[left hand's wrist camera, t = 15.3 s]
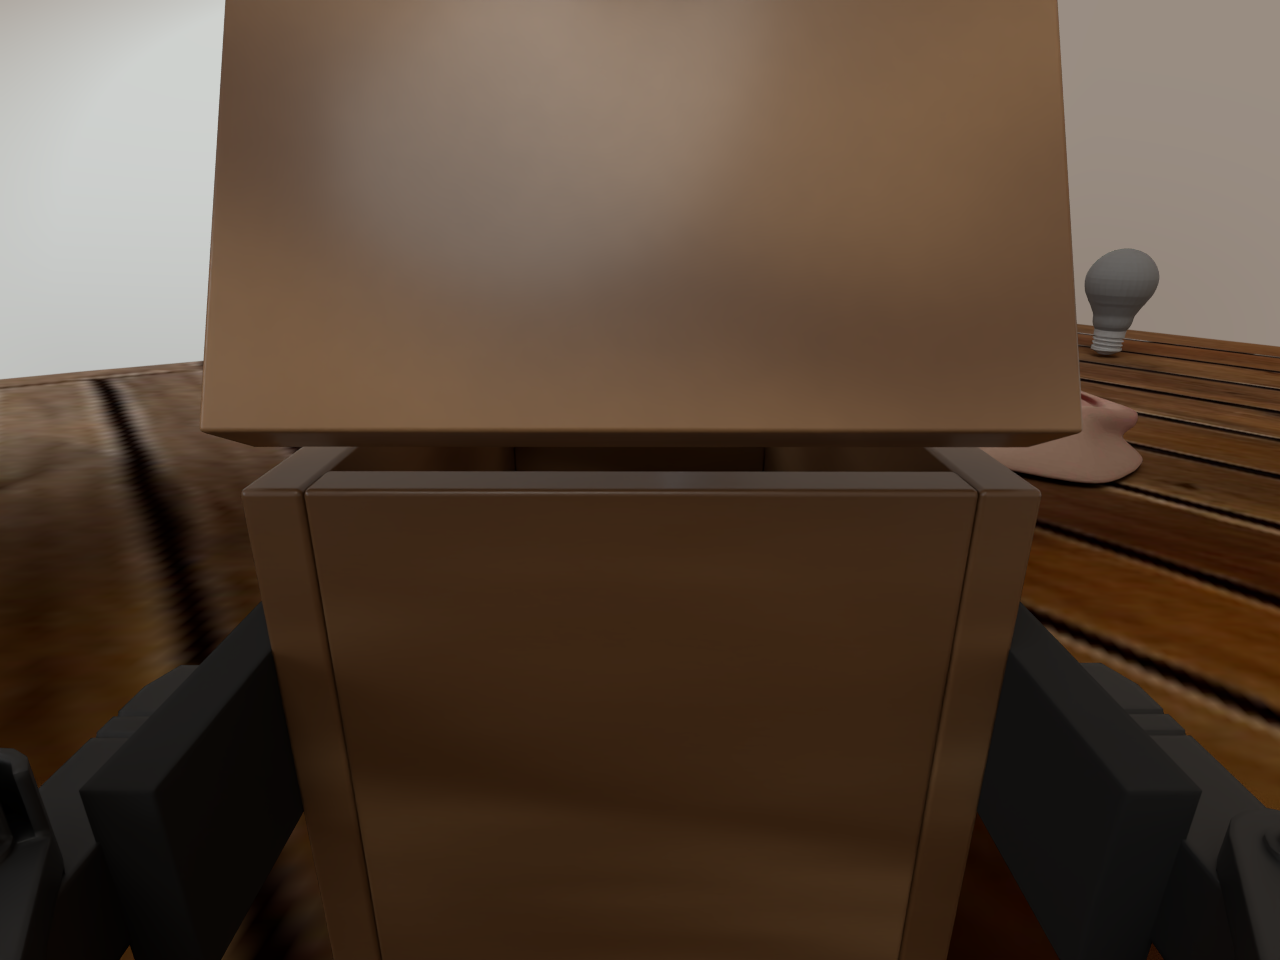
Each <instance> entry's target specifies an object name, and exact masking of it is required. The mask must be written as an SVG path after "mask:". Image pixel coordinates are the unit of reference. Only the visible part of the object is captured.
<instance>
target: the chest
mask: <svg viewBox="0 0 1280 960" xmlns="http://www.w3.org/2000/svg"><path fill="white" fill-rule="evenodd" d="M241 499H242V504H243V509H244V514H245V519H246V524H247V529H248V534H249V539H250V544H251V549H252V554H253V559H254V564H255V569H256V574H257V579H258V584H259V589H260V594H261V599H262V604H263V609H264V614H265V619H266V624H267V629H268V634H269V639H270V644H271V649H272V654H273V659H274V664H275V669H276V674H277V679H278V684H279V689H280V694H281V699H282V704H283V709H284V714H285V719H286V724H287V729H288V734H289V739H290V744H291V749H292V754H293V759H294V764H295V769H296V774H297V779H298V784H299V789H300V794H301V799H302V804H303V809H304V814H305V819H306V824H307V829H308V834H309V839H310V844H311V849H312V854H313V859H314V864H315V869H316V874H317V879H318V884H319V889H320V894H321V899H322V904H323V909H324V914H325V919H326V924H327V929H328V934H329V939H330V944H331V949H332V954H333V959H334V960H947V955H948V950H949V946H950V941H951V936H952V931H953V926H954V921H955V916H956V911H957V906H958V902H959V897H960V892H961V887H962V882H963V877H964V872H965V867H966V862H967V858H968V853H969V848H970V843H971V838H972V833H973V828H974V823H975V818H976V814H977V807H978V802H979V797H980V792H981V787H982V782H983V778H984V773H985V768H986V763H987V758H988V753H989V748H990V743H991V738H992V733H993V728H994V723H995V718H996V713H997V708H998V704H999V699H1000V694H1001V689H1002V684H1003V679H1004V674H1005V669H1006V664H1007V659H1008V654H1009V650H1010V647H1011V642H1012V637H1013V633H1014V628H1015V623H1016V618H1017V613H1018V608H1019V603H1020V598H1021V593H1022V589H1023V584H1024V579H1025V574H1026V569H1027V564H1028V559H1029V554H1030V549H1031V545H1032V540H1033V535H1034V530H1035V525H1036V520H1037V515H1038V510H1039V505H1040V500H1041V492H1040V490H1038V489H1037V488H1035V487H1034V486H1033V485H1031V484H1030V483H1028V482H1027V481H1026V480H1024V479H1023V478H1021V477H1020V476H1018V475H1017V474H1016V473H1014V472H1013V471H1011V470H1010V469H1008V468H1007V467H1006V466H1004V465H1003V464H1001V463H1000V462H999V461H997V460H996V459H994V458H993V457H991V456H990V455H989V454H987V453H986V452H984V451H983V450H981V449H980V448H979V447H302V448H301V449H299V450H298V451H297V452H295V453H294V454H292V455H291V456H289V457H288V458H287V459H285V460H284V461H282V462H281V463H280V464H278V465H277V466H275V467H274V468H273V469H271V470H270V471H268V472H267V473H266V474H264V475H263V476H261V477H260V478H259V479H257V480H256V481H254V482H253V483H251V484H250V485H249V486H247V487H246V488H244V489H243V490H242V493H241Z"/></svg>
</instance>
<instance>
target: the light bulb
mask: <svg viewBox="0 0 1280 960" xmlns="http://www.w3.org/2000/svg"><path fill="white" fill-rule="evenodd" d="M1158 282H1159V271H1158V268H1157V266H1156V264H1155V262H1154V261H1153V260H1152V258H1151V257H1150V256H1148V255H1147V254H1146V253H1144V252H1141V251H1139V250H1135V249H1120V250H1115V251H1112V252H1109V253H1107V254H1105V255H1104V256H1102V257H1101V258H1100V259H1098V260H1097V261H1096V262H1095V263H1094V264H1093V265H1092V267H1091V268H1090V269H1089V271H1088V273H1087V275H1086V279H1085V292H1086V295H1087V298H1088V301H1089V303H1090V305H1091V308H1092V311H1093V325H1094V328H1095V329H1094V335H1095V336H1093V338H1094V339H1095V340H1093V341H1092V342H1093V343H1094V344H1092V345H1091V349H1093V350H1095V351H1096V352H1097V353H1099V354H1104V355H1112V354H1114V353H1117V352H1119V351H1121V350H1122V348H1120V346H1123V345H1121V342H1124V341H1122V338H1124V337H1125V333H1126V330H1127V329H1128V328H1129V327H1130V326H1131V324H1132V322H1133V319H1134V316H1135V315H1136V314H1137V312H1138V311H1139V310H1140V309H1141V308H1142V307H1143V305H1145V303H1146V302H1147V301H1148V300H1149V299H1150V298H1151V297H1152V295H1153V294H1154V292H1155V290H1156V288H1157V286H1158Z"/></svg>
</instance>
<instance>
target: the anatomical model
mask: <svg viewBox="0 0 1280 960" xmlns="http://www.w3.org/2000/svg"><path fill="white" fill-rule="evenodd" d="M1081 405H1082V421H1083V429H1082V432H1080V433H1078V434H1075V435H1071V436H1068V437H1064V438H1060V439H1057V440H1053V441H1049V442H1046V443H1042V444H1038V445H1035V446H1031V447H979V448H980V449H981V450H983V451H984V452H986V453H987V454H989V455H990V456H991V457H993V458H994V459H996V460H997V461H999V462H1000V463H1001V464H1003V465H1004V466H1006V467H1007V468H1008V469H1010V470H1011V471H1016V472H1021V473H1025V474H1030V475H1036V476H1041V477H1046V478H1052V479H1058V480H1064V481H1070V482H1079V483H1094V484H1095V483H1107V482H1111V481H1114V480H1117V479H1120V478H1122V477H1124V476H1126V475H1128V474H1130V473H1132V472H1134V471H1135V470H1136V469H1137V468H1138V467H1139V466H1140V464H1141V463H1142V457H1141V455H1140V454H1139V453H1138V452H1137V451H1136V450H1135V449H1134V448H1133V447H1132V446H1130V445H1129V444H1128V443H1127V442H1126V441H1125V440H1124V438H1123V434H1124V433H1125V432H1126V431H1128V430H1129V429H1130V428H1132V427H1133V426H1134V425H1135V424H1136V422H1137V419H1138V415H1137V412H1136V411H1134V410H1132V409H1130V408H1128V407H1126V406H1123V405H1120V404H1117V403H1114V402H1111V401H1108V400H1105V399H1102V398H1099V397H1097V396H1094V395H1091V394H1088V393H1086V392H1083V391H1081Z"/></svg>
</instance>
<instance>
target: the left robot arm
mask: <svg viewBox="0 0 1280 960" xmlns="http://www.w3.org/2000/svg"><path fill="white" fill-rule="evenodd" d="M303 812H304V809H303V804H302V799H301V794H300V789H299V784H298V779H297V774H296V769H295V764H294V759H293V754H292V749H291V744H290V739H289V734H288V729H287V724H286V719H285V714H284V709H283V704H282V699H281V694H280V689H279V684H278V679H277V674H276V669H275V664H274V659H273V654H272V649H271V644H270V639H269V634H268V629H267V624H266V619H265V614H264V609H263V604H262V601H261V602H260V603H259V604H258V605H257V606H256V607H255V608H254V609H253V610H252V611H251V612H250V613H249V614H248V615H247V616H246V618H245V619H244V620H243V621H242V622H241V623H240V624H239V625H238V626H237V627H236V628H235V629H234V630H233V631H232V632H231V633H230V634H229V635H228V636H227V637H226V638H225V639H224V640H223V641H222V642H221V643H220V644H219V646H218V647H217V648H216V649H215V650H214V651H213V652H212V653H211V654H210V655H209V656H208V657H207V658H206V659H205V660H204V661H203V662H202V663H201V664H200V665H180V666H179V667H177V668H175V669H173V670H172V671H170V672H168V673H167V674H165V675H163V676H162V677H160V678H158V679H157V680H155V681H153V682H151V683H150V684H148V685H146V686H145V687H144V688H143V689H141V690H140V691H139V692H138V693H137V694H136V695H135V696H134V697H133V698H132V699H131V700H130V701H129V702H128V703H127V704H126V705H125V706H124V707H123V708H122V709H121V710H120V711H119V714H118V716H117V717H112V718H111V719H110V720H109V721H108V722H107V723H106V724H105V725H104V726H103V727H102V728H101V729H100V730H99V731H98V732H97V736H96V738H91V739H90V740H89V741H88V742H87V743H85V744H84V745H83V746H82V747H81V748H80V749H79V750H78V751H77V752H76V753H75V754H74V755H73V756H72V757H71V758H70V759H69V760H68V761H67V762H66V763H65V764H64V765H63V766H62V767H61V768H60V769H59V770H57V771H56V772H55V773H54V774H53V775H52V776H51V777H50V778H49V779H48V780H47V781H46V782H45V783H44V784H43V785H42V786H41V787H40V788H39V789H38V787H37V784H36V781H35V778H34V775H33V772H32V770H31V767H30V764H29V761H28V758H27V756H25V755H23V754H22V753H20V752H18V751H17V750H15V749H10V748H0V960H119V959H120V958H121V957H122V955H123V954H124V952H125V951H126V949H127V948H128V946H129V945H130V947H131V950H132V953H133V956H134V959H135V960H221V959H222V957H223V955H224V953H225V951H226V950H227V948H228V946H229V944H230V942H231V941H232V939H233V937H234V935H235V933H236V932H237V930H238V928H239V926H240V924H241V923H242V921H243V919H244V917H245V916H246V914H247V912H248V910H249V908H250V907H251V905H252V903H253V901H254V899H255V898H256V896H257V894H258V892H259V890H260V889H261V887H262V885H263V883H264V881H265V880H266V878H267V876H268V874H269V873H270V871H271V869H272V867H273V865H274V864H275V862H276V860H277V858H278V856H279V855H280V853H281V851H282V849H283V847H284V846H285V844H286V842H287V840H288V838H289V837H290V835H291V833H292V831H293V829H294V828H295V826H296V824H297V822H298V821H299V819H300V817H301V815H302V813H303ZM977 812H978V814H979V816H980V817H981V819H982V821H983V823H984V825H985V826H986V828H987V830H988V832H989V834H990V835H991V837H992V839H993V841H994V842H995V844H996V846H997V848H998V850H999V851H1000V853H1001V855H1002V857H1003V859H1004V860H1005V862H1006V864H1007V866H1008V868H1009V869H1010V871H1011V873H1012V875H1013V877H1014V878H1015V880H1016V882H1017V884H1018V885H1019V887H1020V889H1021V891H1022V893H1023V894H1024V896H1025V898H1026V900H1027V902H1028V903H1029V905H1030V907H1031V909H1032V911H1033V912H1034V914H1035V916H1036V918H1037V920H1038V921H1039V923H1040V925H1041V927H1042V928H1043V930H1044V932H1045V934H1046V936H1047V937H1048V939H1049V941H1050V943H1051V945H1052V946H1053V948H1054V950H1055V952H1056V954H1057V955H1058V957H1059V959H1060V960H1146V959H1147V956H1148V953H1149V950H1150V947H1151V944H1152V943H1153V944H1154V946H1155V947H1156V948H1157V950H1158V951H1159V953H1160V954H1161V956H1162V957H1163V959H1164V960H1280V811H1279V810H1274V809H1269V808H1266V807H1265V806H1264V805H1263V804H1262V803H1261V802H1260V801H1259V800H1257V799H1256V798H1255V797H1254V796H1253V795H1252V794H1251V793H1250V792H1249V791H1248V790H1247V789H1246V788H1245V787H1244V786H1243V785H1242V784H1241V783H1240V782H1239V781H1238V780H1237V779H1236V778H1235V777H1233V776H1232V775H1231V774H1230V773H1229V772H1228V771H1227V770H1226V769H1225V768H1224V767H1223V766H1222V765H1221V764H1220V763H1219V762H1218V761H1217V760H1216V759H1215V758H1214V757H1213V756H1212V755H1210V754H1209V753H1208V752H1207V751H1206V750H1205V749H1204V748H1203V747H1202V746H1201V745H1200V744H1199V743H1198V742H1197V741H1196V740H1195V739H1194V738H1193V737H1192V736H1186V734H1185V730H1184V729H1183V728H1182V727H1181V726H1180V725H1179V724H1178V723H1177V722H1176V721H1175V720H1174V719H1173V718H1172V717H1171V716H1170V715H1169V714H1164V713H1163V709H1162V708H1161V707H1160V706H1159V705H1158V704H1157V703H1156V702H1155V701H1154V700H1153V699H1152V698H1151V697H1150V696H1149V695H1148V694H1147V693H1146V692H1145V691H1144V690H1143V689H1142V688H1141V687H1139V686H1138V685H1137V684H1136V683H1134V682H1132V681H1131V680H1129V679H1127V678H1126V677H1124V676H1122V675H1120V674H1119V673H1117V672H1115V671H1114V670H1112V669H1110V668H1109V667H1107V666H1105V665H1103V664H1102V663H1079V662H1078V661H1077V660H1076V659H1075V658H1074V657H1073V656H1072V655H1071V654H1070V653H1069V652H1068V651H1067V650H1066V649H1065V648H1064V647H1063V646H1062V645H1061V644H1060V643H1059V642H1058V641H1057V639H1056V638H1055V637H1054V636H1053V635H1052V634H1051V633H1050V632H1049V631H1048V630H1047V629H1046V628H1045V627H1044V626H1043V625H1042V624H1041V623H1040V622H1039V621H1038V620H1037V619H1036V618H1035V617H1034V616H1033V615H1032V614H1031V613H1030V612H1029V610H1028V609H1027V608H1026V607H1025V606H1024V605H1023V604H1022V603H1021V602H1020V603H1019V608H1018V613H1017V618H1016V623H1015V628H1014V633H1013V637H1012V642H1011V647H1010V650H1009V654H1008V659H1007V664H1006V669H1005V674H1004V679H1003V684H1002V689H1001V694H1000V699H999V704H998V708H997V713H996V718H995V723H994V728H993V733H992V738H991V743H990V748H989V753H988V758H987V763H986V768H985V773H984V778H983V782H982V787H981V792H980V797H979V802H978V807H977Z"/></svg>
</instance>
